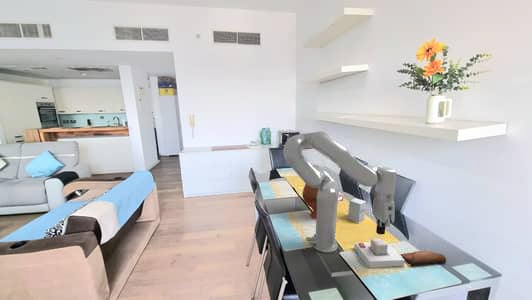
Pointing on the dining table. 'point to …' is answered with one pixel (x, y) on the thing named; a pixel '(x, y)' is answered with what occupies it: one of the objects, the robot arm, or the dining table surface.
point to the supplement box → (356, 210)
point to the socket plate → (378, 261)
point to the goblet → (311, 199)
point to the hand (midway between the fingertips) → (380, 233)
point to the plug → (378, 247)
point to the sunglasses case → (423, 258)
